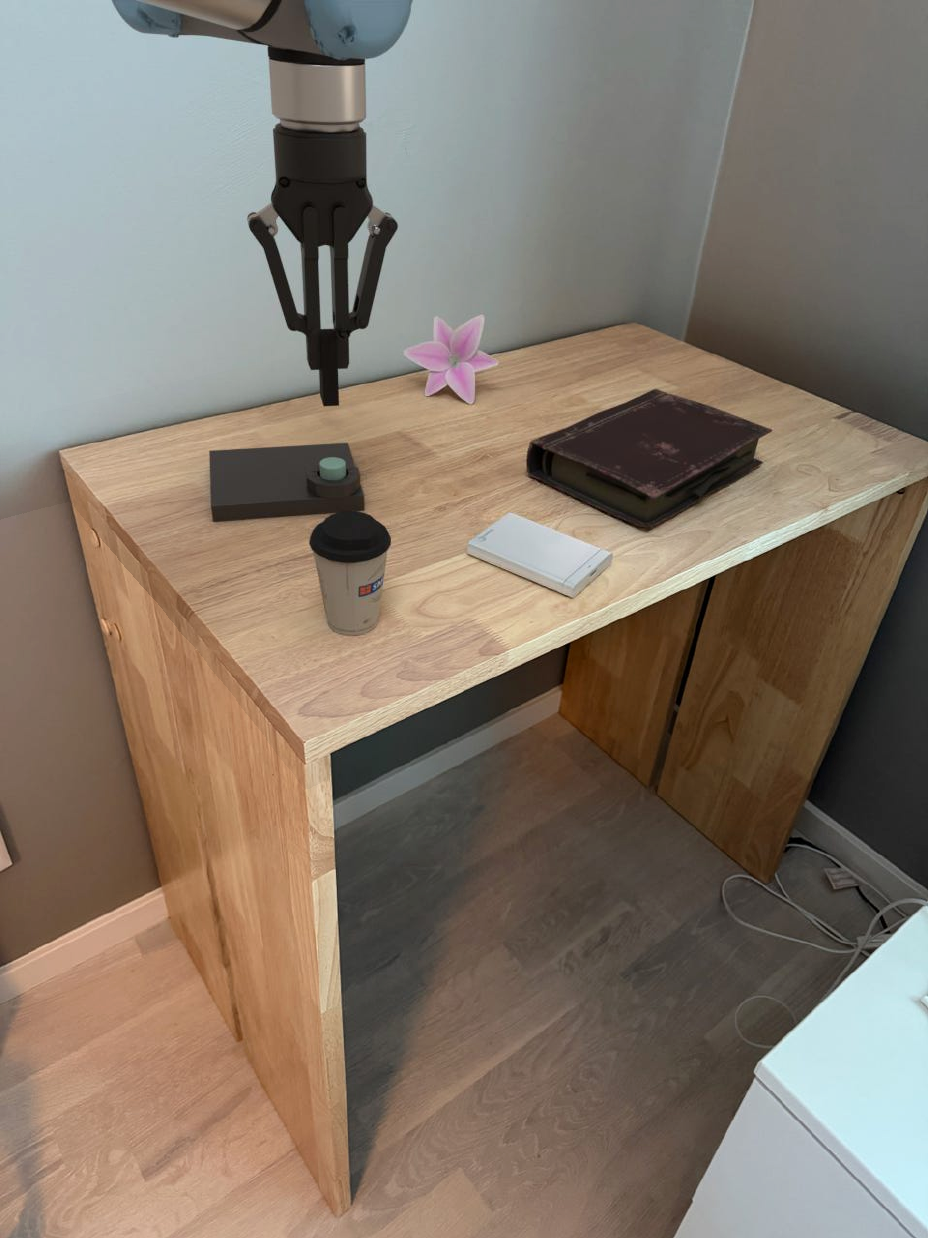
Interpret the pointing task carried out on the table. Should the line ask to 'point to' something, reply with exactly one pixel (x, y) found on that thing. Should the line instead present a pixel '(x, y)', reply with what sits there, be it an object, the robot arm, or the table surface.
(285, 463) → the scale
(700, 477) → the diary
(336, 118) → the robot arm
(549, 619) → the table surface
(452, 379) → the lily
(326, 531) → the coffee cup
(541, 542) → the hard drive
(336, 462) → the button
